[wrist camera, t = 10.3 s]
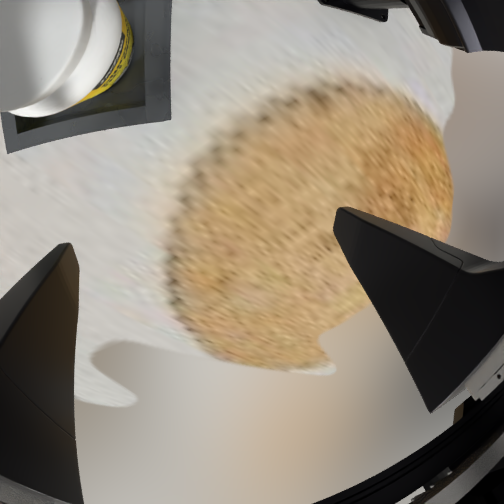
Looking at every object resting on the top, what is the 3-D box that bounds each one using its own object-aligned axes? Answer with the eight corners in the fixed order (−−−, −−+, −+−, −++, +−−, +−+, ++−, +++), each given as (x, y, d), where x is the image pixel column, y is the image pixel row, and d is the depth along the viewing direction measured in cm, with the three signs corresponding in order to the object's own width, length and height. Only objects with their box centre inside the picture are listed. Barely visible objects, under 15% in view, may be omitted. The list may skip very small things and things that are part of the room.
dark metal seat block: (173, -29, 12) (177, -49, 9) (170, 117, 18) (173, 128, 15) (18, 5, 9) (-6, -3, 6) (25, 145, 15) (2, 163, 12)
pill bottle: (134, 91, 16) (106, 119, 7) (45, 105, 14) (-51, 157, 5) (139, 2, 12) (123, -68, 4) (47, 18, 10) (-47, -9, 2)
